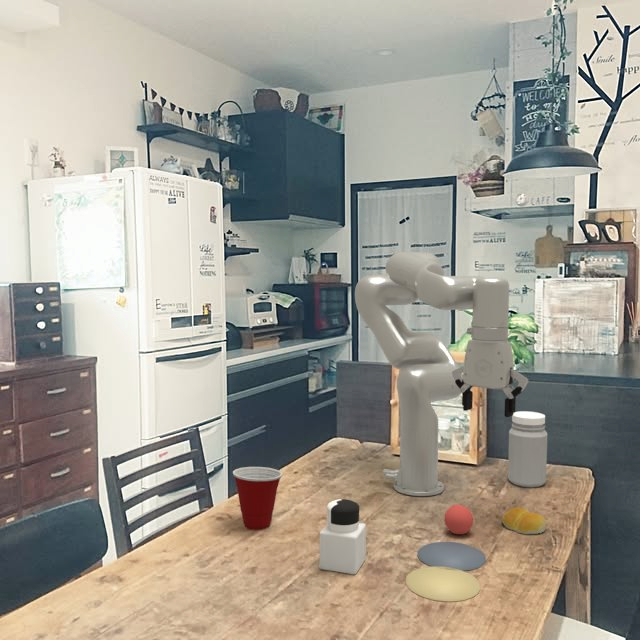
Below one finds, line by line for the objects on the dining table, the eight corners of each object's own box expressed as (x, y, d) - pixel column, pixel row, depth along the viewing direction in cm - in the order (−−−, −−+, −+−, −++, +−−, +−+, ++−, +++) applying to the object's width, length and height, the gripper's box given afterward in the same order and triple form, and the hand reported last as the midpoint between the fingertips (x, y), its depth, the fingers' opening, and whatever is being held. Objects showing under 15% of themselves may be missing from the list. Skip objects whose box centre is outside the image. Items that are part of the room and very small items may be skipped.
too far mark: (399, 594, 116) (399, 593, 116) (412, 563, 128) (412, 562, 128) (476, 606, 112) (476, 605, 112) (483, 573, 124) (483, 572, 124)
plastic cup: (293, 524, 147) (293, 470, 146) (255, 539, 139) (255, 482, 138) (259, 512, 155) (259, 460, 154) (222, 525, 147) (222, 471, 146)
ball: (442, 536, 141) (442, 508, 140) (446, 526, 146) (446, 499, 146) (471, 540, 139) (472, 512, 138) (474, 529, 144) (474, 502, 144)
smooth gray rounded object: (411, 565, 127) (411, 564, 127) (423, 539, 139) (423, 538, 139) (482, 575, 123) (482, 574, 123) (488, 547, 135) (488, 546, 135)
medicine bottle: (366, 559, 130) (366, 498, 129) (355, 575, 123) (356, 511, 122) (330, 554, 132) (331, 494, 131) (318, 569, 125) (319, 506, 124)
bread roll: (533, 539, 140) (533, 520, 140) (496, 526, 147) (496, 508, 147) (554, 529, 146) (554, 511, 145) (517, 517, 152) (518, 500, 152)
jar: (550, 480, 178) (552, 413, 177) (540, 491, 170) (542, 420, 168) (513, 474, 183) (515, 409, 182) (502, 484, 175) (504, 415, 174)
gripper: (445, 333, 149) (444, 410, 150) (521, 339, 138) (519, 421, 139) (461, 331, 154) (460, 404, 156) (535, 336, 143) (533, 415, 145)
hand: (488, 412), depth 147 cm, fingers open, 9 cm apart
